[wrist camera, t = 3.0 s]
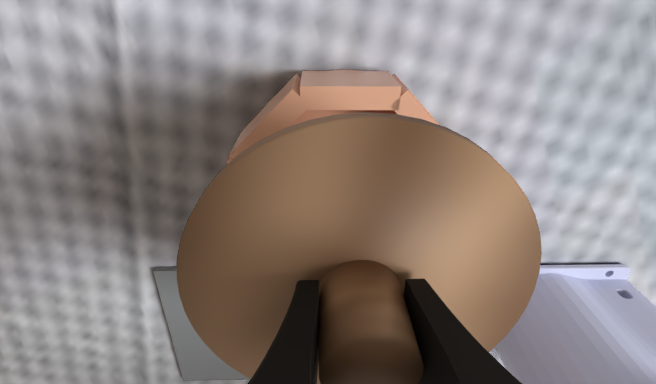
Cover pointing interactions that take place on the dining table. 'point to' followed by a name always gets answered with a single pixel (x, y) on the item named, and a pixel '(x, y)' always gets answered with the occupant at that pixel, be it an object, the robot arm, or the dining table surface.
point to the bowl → (330, 101)
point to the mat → (189, 335)
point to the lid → (357, 243)
